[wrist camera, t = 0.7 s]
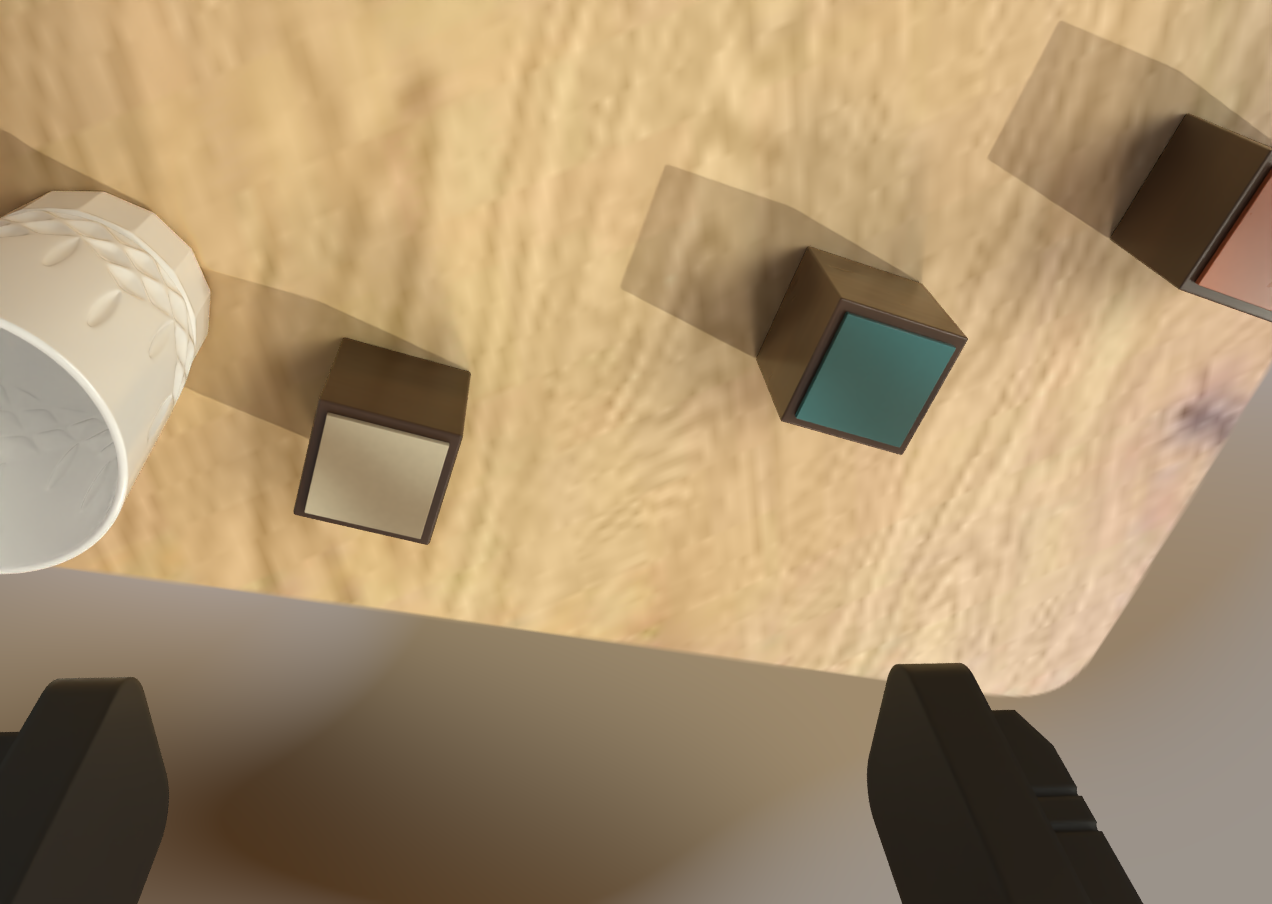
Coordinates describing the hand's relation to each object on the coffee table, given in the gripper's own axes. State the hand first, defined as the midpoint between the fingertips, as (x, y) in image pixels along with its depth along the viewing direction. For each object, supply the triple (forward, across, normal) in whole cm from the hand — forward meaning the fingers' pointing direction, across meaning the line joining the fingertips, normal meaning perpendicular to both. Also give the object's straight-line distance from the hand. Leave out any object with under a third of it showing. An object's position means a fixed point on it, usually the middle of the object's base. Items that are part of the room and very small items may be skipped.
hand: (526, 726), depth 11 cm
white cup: (+25, +14, +5) cm, 29 cm away
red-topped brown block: (+24, -22, +1) cm, 33 cm away
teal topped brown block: (+24, -11, +6) cm, 27 cm away
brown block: (+24, +5, +9) cm, 27 cm away
